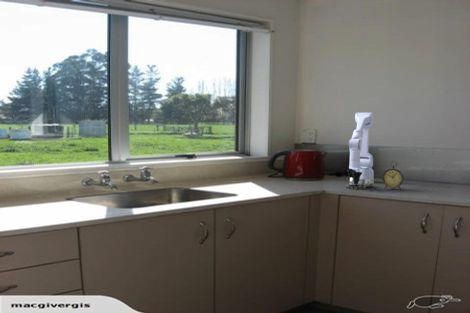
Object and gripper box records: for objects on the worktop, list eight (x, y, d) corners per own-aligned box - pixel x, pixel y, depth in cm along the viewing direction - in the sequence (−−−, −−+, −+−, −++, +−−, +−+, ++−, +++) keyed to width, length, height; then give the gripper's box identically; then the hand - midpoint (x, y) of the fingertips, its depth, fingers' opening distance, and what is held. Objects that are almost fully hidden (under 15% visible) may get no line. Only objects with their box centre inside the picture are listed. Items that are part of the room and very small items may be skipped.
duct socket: (365, 185, 247) (365, 176, 247) (376, 187, 239) (376, 178, 239) (342, 187, 239) (342, 178, 239) (353, 189, 231) (353, 180, 231)
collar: (348, 187, 240) (348, 177, 239) (356, 187, 240) (356, 177, 239) (350, 188, 235) (350, 178, 235) (358, 188, 235) (358, 178, 235)
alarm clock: (381, 189, 235) (383, 160, 234) (383, 187, 240) (384, 159, 238) (402, 190, 230) (403, 161, 228) (403, 189, 235) (404, 161, 233)
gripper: (365, 160, 229) (364, 185, 230) (357, 158, 243) (357, 180, 244) (353, 160, 229) (352, 184, 230) (345, 158, 243) (345, 180, 244)
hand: (353, 182), depth 237 cm, fingers open, 7 cm apart
